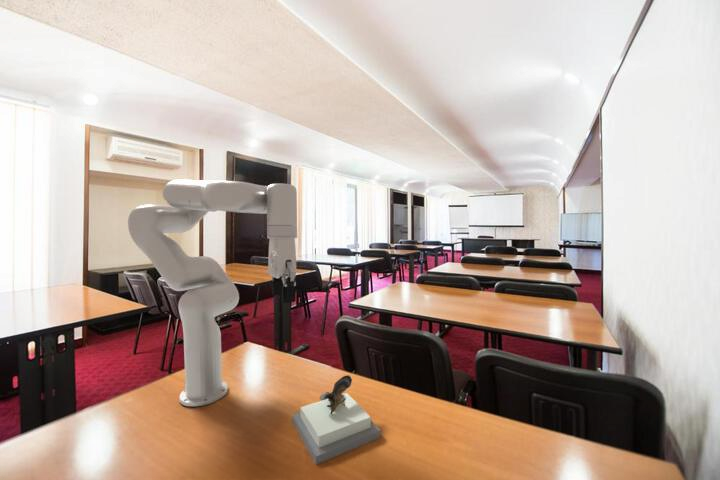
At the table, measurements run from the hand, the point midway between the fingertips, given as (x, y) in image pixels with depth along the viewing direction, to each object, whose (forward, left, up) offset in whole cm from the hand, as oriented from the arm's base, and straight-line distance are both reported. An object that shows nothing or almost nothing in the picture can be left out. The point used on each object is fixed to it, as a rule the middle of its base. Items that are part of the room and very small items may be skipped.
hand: (283, 298), depth 79 cm
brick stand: (+13, +8, -31) cm, 35 cm away
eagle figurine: (+11, +10, -26) cm, 30 cm away
